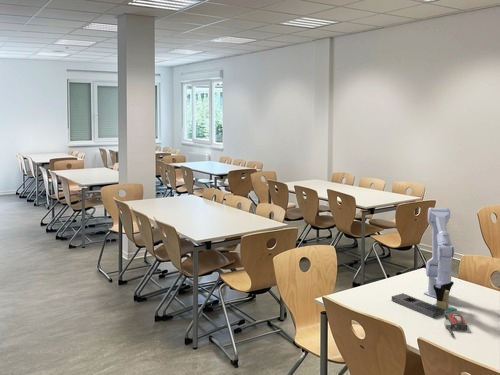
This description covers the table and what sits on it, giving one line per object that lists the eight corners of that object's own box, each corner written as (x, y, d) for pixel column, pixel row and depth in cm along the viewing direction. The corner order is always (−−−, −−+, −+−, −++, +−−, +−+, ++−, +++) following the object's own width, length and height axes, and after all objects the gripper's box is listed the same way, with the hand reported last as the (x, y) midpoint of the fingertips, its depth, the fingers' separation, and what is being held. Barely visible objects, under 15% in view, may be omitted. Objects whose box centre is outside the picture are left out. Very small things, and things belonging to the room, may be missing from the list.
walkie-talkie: (440, 318, 218) (449, 338, 198) (440, 308, 217) (450, 327, 198) (461, 319, 216) (472, 339, 197) (461, 310, 215) (473, 329, 196)
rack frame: (402, 297, 242) (403, 293, 241) (444, 314, 221) (444, 309, 221) (391, 300, 237) (391, 296, 237) (432, 317, 217) (433, 312, 217)
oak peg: (439, 305, 231) (440, 288, 230) (447, 307, 228) (448, 290, 227) (436, 307, 228) (437, 291, 227) (444, 309, 225) (445, 293, 224)
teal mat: (440, 303, 234) (440, 302, 234) (456, 309, 227) (456, 308, 227) (427, 306, 230) (427, 306, 230) (444, 313, 222) (444, 312, 222)
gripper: (441, 265, 234) (439, 292, 236) (429, 272, 223) (428, 300, 225) (456, 268, 229) (454, 295, 231) (445, 275, 218) (443, 304, 220)
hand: (442, 298), depth 228 cm, fingers open, 7 cm apart
